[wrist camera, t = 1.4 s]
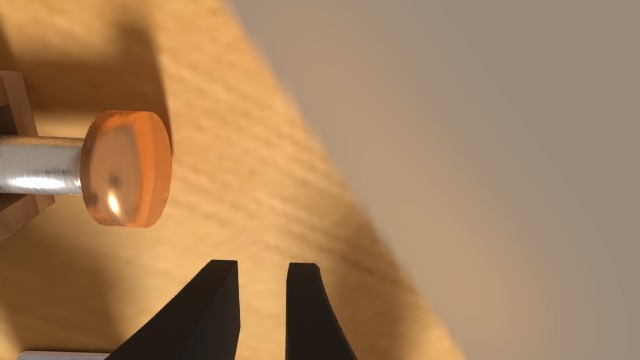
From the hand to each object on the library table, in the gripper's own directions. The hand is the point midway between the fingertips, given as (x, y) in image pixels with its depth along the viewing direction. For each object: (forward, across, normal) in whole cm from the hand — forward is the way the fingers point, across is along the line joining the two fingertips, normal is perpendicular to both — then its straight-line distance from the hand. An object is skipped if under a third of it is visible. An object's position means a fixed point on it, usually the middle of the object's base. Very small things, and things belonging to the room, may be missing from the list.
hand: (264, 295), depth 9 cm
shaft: (+10, +11, 0) cm, 15 cm away
